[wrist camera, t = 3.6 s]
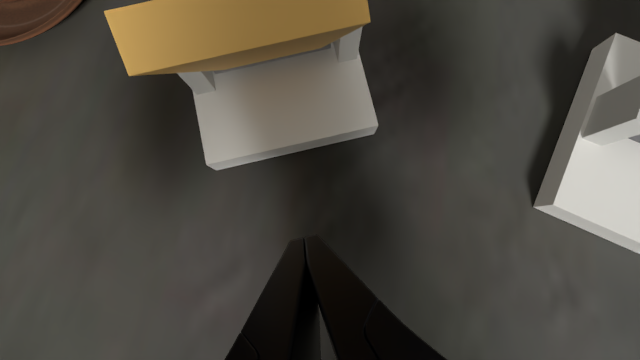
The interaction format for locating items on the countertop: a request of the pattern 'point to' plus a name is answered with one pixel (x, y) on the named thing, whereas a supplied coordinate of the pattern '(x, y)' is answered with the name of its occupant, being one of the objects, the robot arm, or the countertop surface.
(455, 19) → the countertop surface
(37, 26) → the cup and saucer
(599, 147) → the switch plate
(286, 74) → the switch plate
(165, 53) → the amber lever
